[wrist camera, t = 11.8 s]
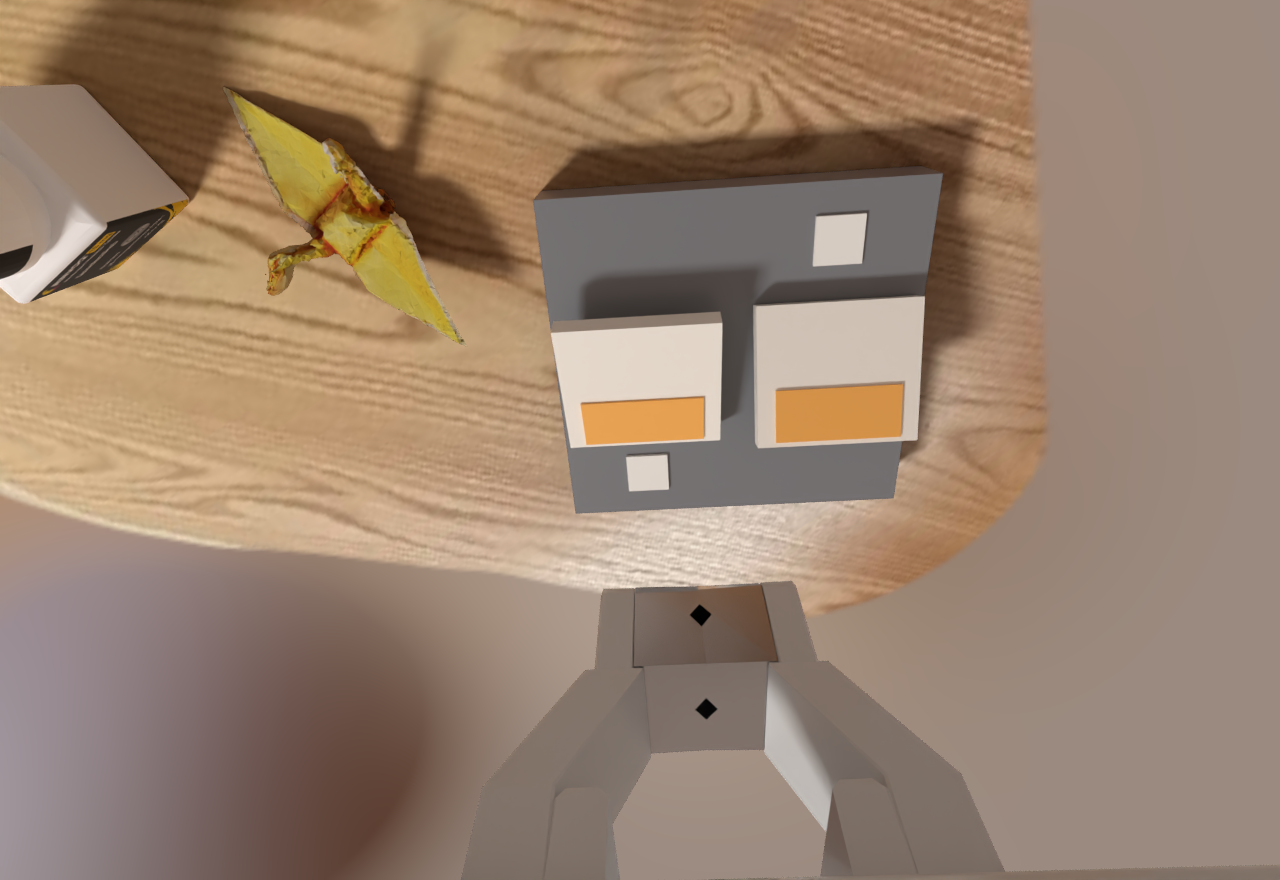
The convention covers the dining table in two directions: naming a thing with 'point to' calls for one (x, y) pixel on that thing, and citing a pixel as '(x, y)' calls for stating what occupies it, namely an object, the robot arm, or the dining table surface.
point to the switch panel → (733, 312)
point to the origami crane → (339, 217)
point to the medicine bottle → (72, 191)
